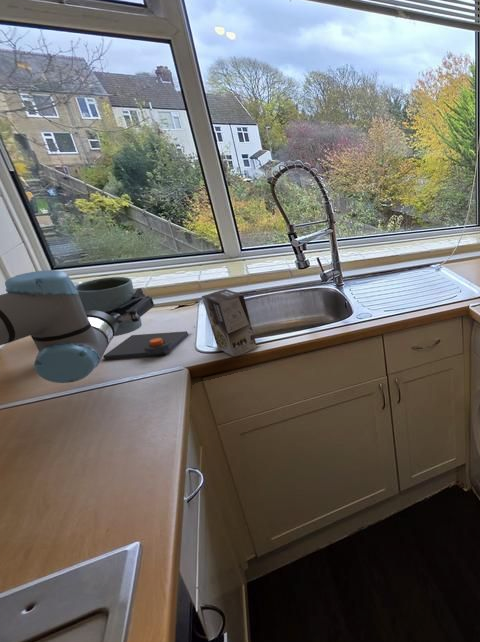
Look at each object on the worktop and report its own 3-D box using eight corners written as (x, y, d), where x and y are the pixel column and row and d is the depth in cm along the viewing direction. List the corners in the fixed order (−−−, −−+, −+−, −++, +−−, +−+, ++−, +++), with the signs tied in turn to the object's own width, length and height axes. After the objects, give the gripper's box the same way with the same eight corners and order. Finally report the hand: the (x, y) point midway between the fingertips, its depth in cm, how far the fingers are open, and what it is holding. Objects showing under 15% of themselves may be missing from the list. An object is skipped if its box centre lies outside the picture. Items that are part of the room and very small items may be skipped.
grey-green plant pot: (93, 327, 100) (74, 282, 96) (146, 316, 106) (131, 273, 102) (90, 342, 93) (69, 294, 89) (148, 330, 99) (131, 284, 95)
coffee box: (258, 347, 114) (244, 294, 108) (234, 357, 109) (218, 302, 103) (240, 339, 118) (226, 288, 112) (216, 348, 113) (200, 295, 107)
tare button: (149, 347, 108) (147, 342, 107) (154, 343, 110) (152, 338, 110) (160, 346, 108) (158, 341, 108) (165, 342, 111) (163, 337, 110)
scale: (101, 363, 105) (97, 353, 104) (133, 339, 117) (129, 330, 116) (166, 357, 108) (163, 347, 107) (191, 335, 120) (188, 326, 119)
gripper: (18, 363, 79) (57, 320, 96) (163, 336, 90) (175, 302, 107) (0, 328, 76) (44, 290, 94) (152, 305, 87) (166, 275, 104)
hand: (114, 297), depth 100 cm, fingers closed on grey-green plant pot, 10 cm apart
